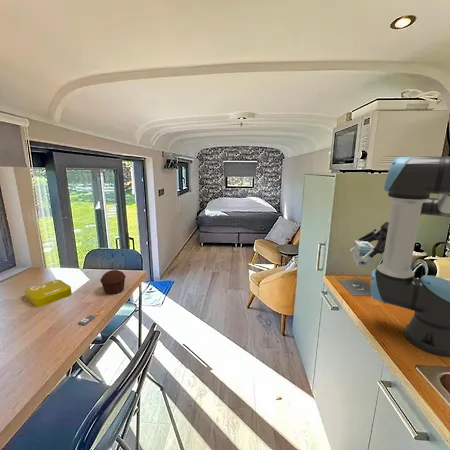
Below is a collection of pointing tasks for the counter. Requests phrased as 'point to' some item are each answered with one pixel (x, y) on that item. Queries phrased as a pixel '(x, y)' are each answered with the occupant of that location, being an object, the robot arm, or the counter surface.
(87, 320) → the key chain
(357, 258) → the light bulb box
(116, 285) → the muffin
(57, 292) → the element tile
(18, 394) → the counter surface
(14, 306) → the counter surface
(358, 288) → the mat
